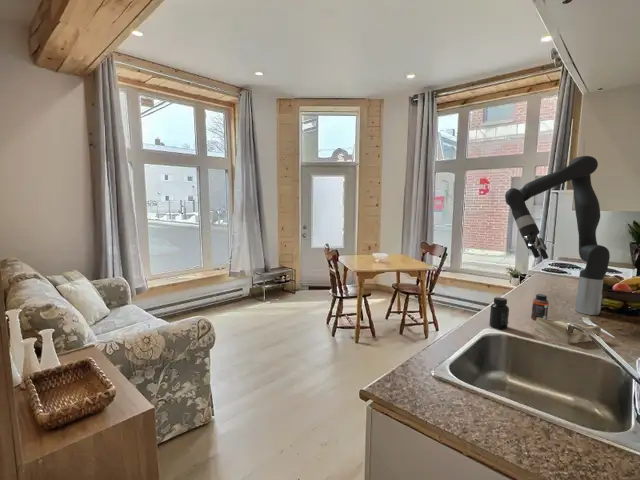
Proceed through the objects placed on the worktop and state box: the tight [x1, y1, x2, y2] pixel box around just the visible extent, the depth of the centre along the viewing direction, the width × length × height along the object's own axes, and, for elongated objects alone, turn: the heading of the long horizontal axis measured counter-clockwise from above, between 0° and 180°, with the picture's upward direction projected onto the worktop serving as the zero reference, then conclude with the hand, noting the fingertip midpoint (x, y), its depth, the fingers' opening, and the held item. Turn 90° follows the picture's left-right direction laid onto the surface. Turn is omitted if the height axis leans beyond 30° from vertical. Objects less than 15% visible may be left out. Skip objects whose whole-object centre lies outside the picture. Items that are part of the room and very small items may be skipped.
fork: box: [582, 316, 616, 339], centre depth 148 cm, size 3×20×2 cm, turn 172°
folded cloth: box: [534, 317, 602, 345], centre depth 139 cm, size 16×14×5 cm
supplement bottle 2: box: [530, 293, 550, 321], centre depth 156 cm, size 6×6×11 cm
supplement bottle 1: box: [488, 296, 510, 330], centre depth 145 cm, size 7×7×12 cm
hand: (542, 257), depth 160 cm, fingers open, 8 cm apart
